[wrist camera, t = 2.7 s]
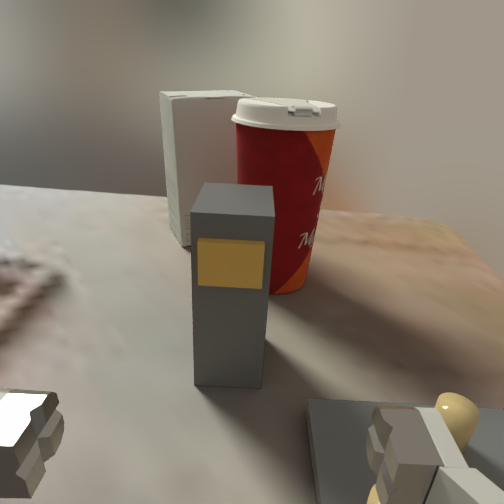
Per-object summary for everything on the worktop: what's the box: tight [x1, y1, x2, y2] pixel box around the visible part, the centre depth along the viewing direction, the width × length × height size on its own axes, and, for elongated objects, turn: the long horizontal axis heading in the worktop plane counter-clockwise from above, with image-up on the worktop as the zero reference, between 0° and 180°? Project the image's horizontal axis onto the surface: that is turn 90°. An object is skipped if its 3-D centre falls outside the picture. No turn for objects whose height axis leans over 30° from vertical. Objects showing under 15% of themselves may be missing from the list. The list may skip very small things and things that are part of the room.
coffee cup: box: [231, 98, 341, 294], centre depth 31 cm, size 8×8×15 cm
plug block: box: [190, 182, 275, 389], centre depth 22 cm, size 4×6×11 cm
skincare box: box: [159, 90, 256, 247], centre depth 40 cm, size 8×6×15 cm
